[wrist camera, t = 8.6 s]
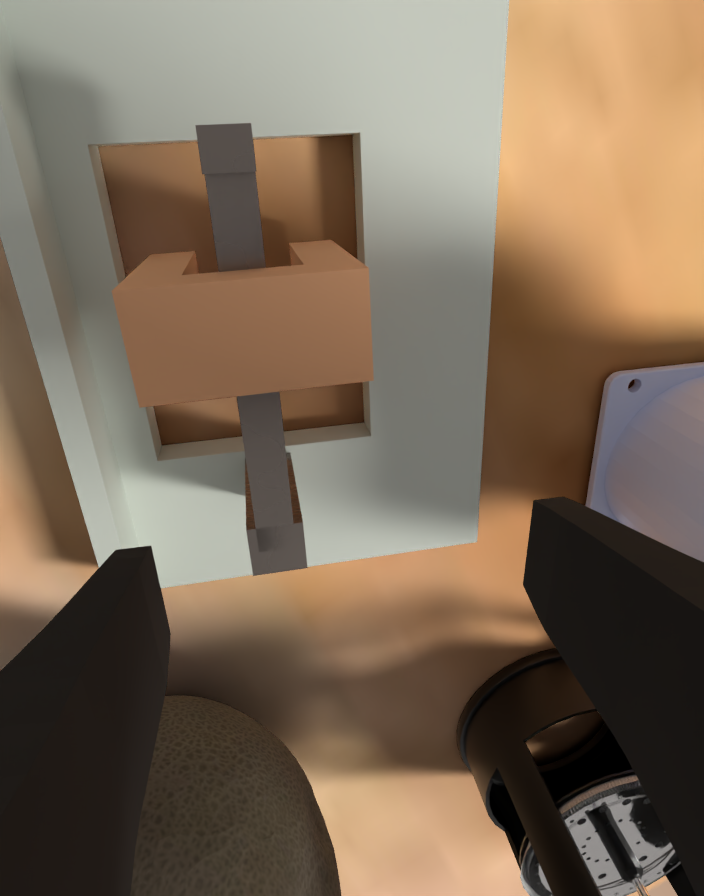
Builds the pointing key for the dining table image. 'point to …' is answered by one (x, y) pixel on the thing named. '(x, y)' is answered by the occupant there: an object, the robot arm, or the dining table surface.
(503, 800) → the french press
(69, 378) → the grey base plate
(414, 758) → the dining table surface
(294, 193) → the dining table surface
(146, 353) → the peach u-shaped bracket
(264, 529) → the hook arm
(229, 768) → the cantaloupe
